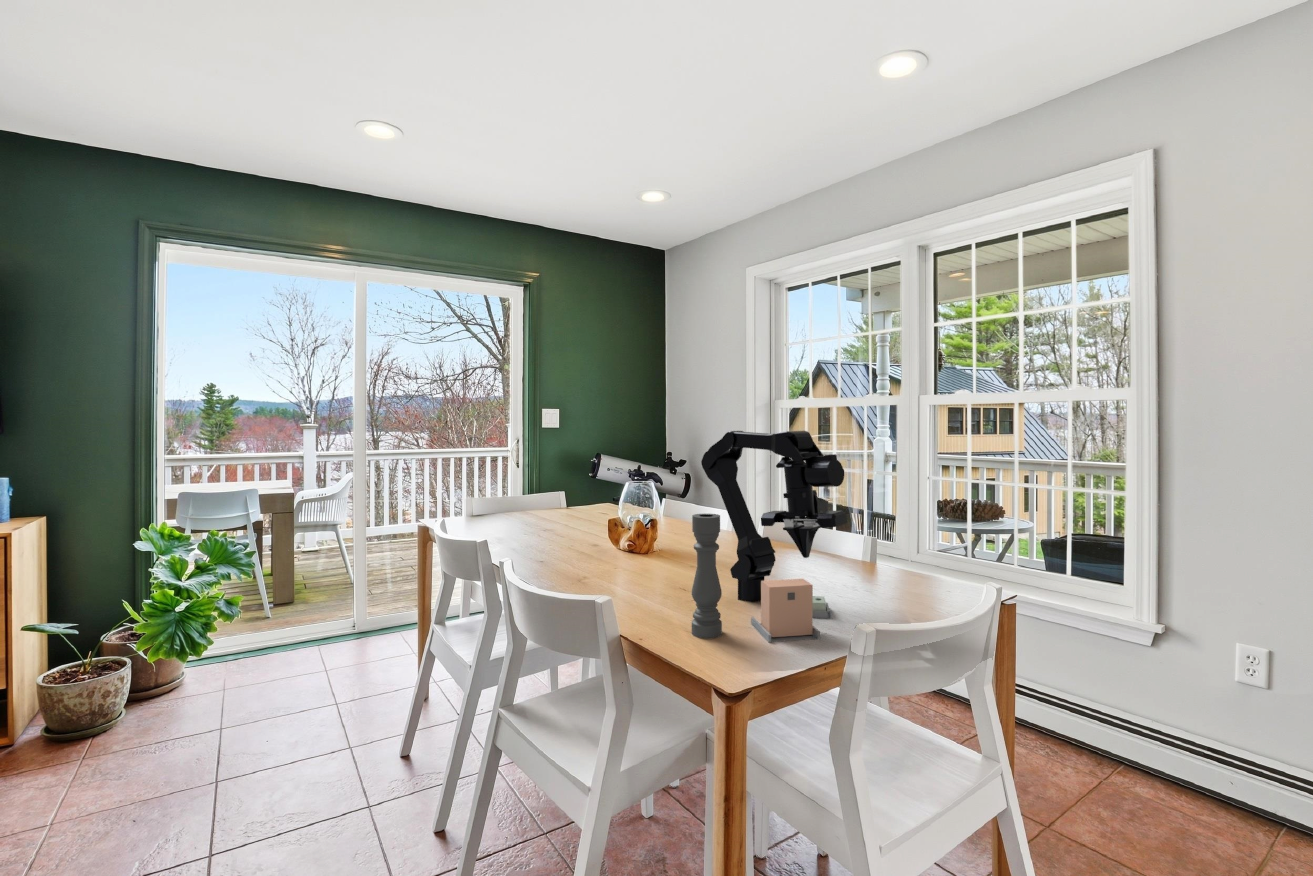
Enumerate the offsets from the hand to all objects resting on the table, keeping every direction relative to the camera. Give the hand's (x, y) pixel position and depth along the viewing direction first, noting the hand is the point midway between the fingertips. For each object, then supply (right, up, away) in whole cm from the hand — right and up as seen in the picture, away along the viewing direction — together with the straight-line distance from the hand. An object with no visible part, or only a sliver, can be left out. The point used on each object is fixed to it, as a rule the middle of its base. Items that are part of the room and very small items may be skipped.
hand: (806, 557), depth 141 cm
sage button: (+2, -13, +1) cm, 13 cm away
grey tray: (-7, -14, -11) cm, 19 cm away
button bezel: (+2, -14, +1) cm, 14 cm away
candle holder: (-23, -14, -11) cm, 29 cm away
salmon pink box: (-7, -13, -12) cm, 19 cm away
